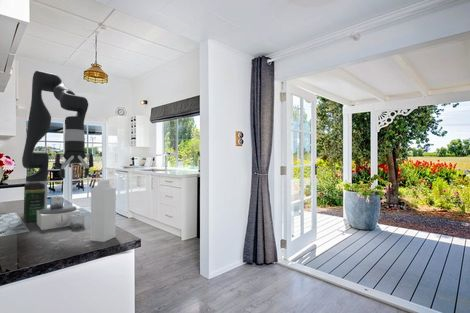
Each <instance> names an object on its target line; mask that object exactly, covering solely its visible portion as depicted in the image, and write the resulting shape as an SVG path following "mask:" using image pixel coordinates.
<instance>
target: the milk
mask: <svg viewBox="0 0 470 313" xmlns="http://www.w3.org/2000/svg"><path fill="white" fill-rule="evenodd" d="M116 191H117V188H116V187H115V186H114V185H112V184H111V183H110V179H104V180H98V181H97V185H95V187H93V188H91V189H90V241H92V242H100V243H105V242H107V241H110V240H111V239H114V238H116V215H117V214H116V212H117V211H116V208H117V207H116V206H117V204H116V203H117V202H116V200H117V192H116Z"/></svg>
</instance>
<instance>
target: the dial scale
mask: <svg viewBox="0 0 470 313" xmlns="http://www.w3.org/2000/svg"><path fill="white" fill-rule="evenodd" d="M79 214H81V211H80V210H79V209H77V207H76V206H73V205H63V208H59V209H50V206H49V207H47V208H44V209H41V210H37V222H36V225H37V226H38V227H39V228H40V230H41V231H45V230H51V229H57V228H59V229H60V228H65V227H71V216H72V215H79Z"/></svg>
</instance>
